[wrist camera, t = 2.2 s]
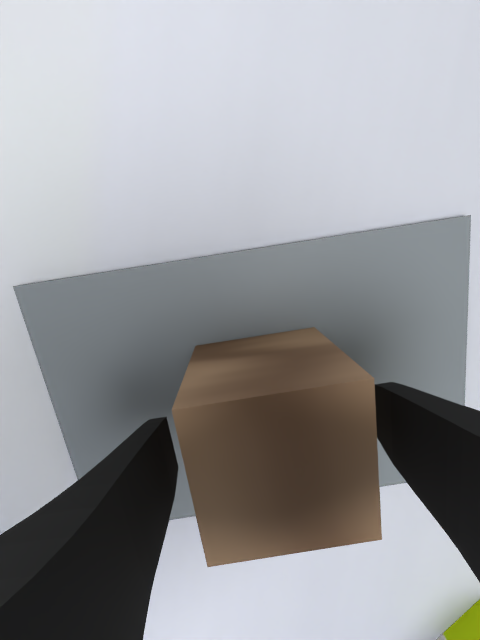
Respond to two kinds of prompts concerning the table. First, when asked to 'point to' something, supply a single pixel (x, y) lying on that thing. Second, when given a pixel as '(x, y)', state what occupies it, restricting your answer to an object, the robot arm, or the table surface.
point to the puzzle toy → (465, 626)
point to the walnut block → (278, 446)
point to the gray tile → (248, 326)
